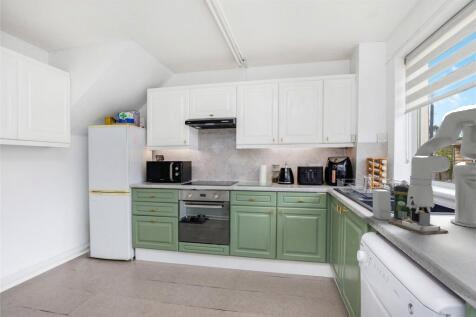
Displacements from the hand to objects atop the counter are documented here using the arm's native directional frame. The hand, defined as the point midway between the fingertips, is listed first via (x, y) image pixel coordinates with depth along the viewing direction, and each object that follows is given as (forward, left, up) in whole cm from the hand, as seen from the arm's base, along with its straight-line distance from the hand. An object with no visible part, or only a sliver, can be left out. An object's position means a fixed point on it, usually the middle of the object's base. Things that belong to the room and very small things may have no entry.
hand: (420, 220), depth 107 cm
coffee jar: (-10, -19, -5) cm, 22 cm away
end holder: (0, 0, -4) cm, 4 cm away
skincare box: (+2, -21, -5) cm, 22 cm away
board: (-1, -3, -4) cm, 5 cm away
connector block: (0, 0, -1) cm, 1 cm away
